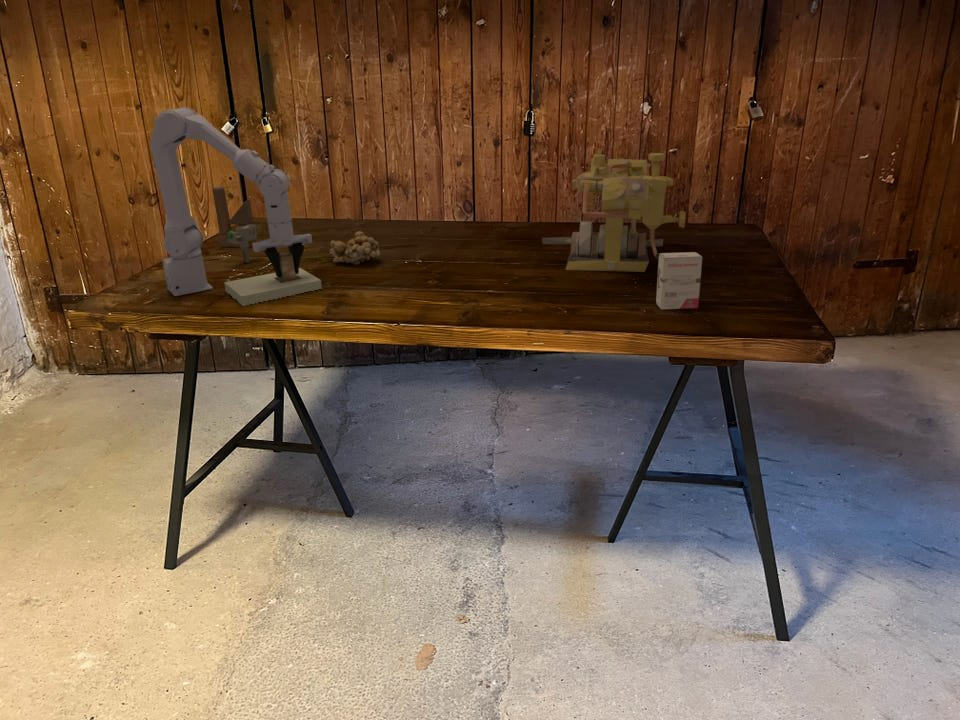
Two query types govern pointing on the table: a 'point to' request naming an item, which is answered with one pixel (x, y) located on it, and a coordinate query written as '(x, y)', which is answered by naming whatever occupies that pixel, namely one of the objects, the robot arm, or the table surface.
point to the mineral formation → (355, 249)
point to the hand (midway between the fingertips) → (287, 274)
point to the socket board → (270, 287)
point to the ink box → (678, 280)
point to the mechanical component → (243, 238)
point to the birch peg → (287, 267)
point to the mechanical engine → (619, 215)
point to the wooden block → (224, 222)
